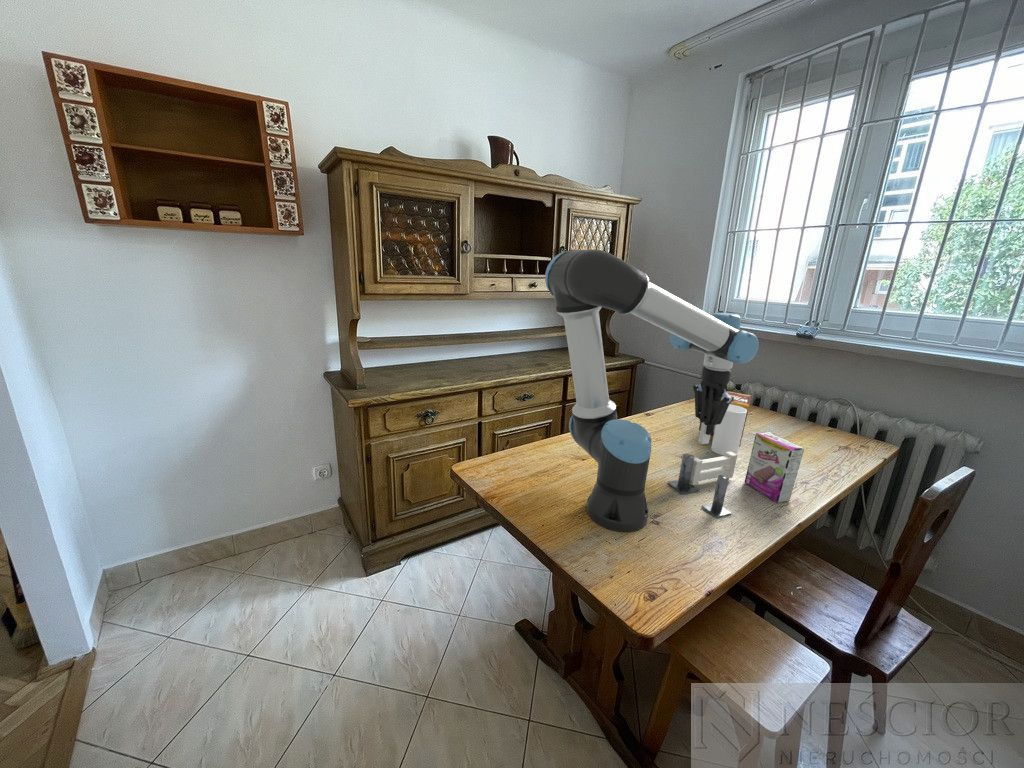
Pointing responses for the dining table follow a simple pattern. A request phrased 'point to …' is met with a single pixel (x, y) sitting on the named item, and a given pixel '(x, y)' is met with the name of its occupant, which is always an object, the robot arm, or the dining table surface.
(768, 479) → the candy bar box
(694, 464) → the gate
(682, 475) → the post
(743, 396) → the supplement box
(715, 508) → the post
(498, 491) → the dining table surface
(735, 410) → the cup
